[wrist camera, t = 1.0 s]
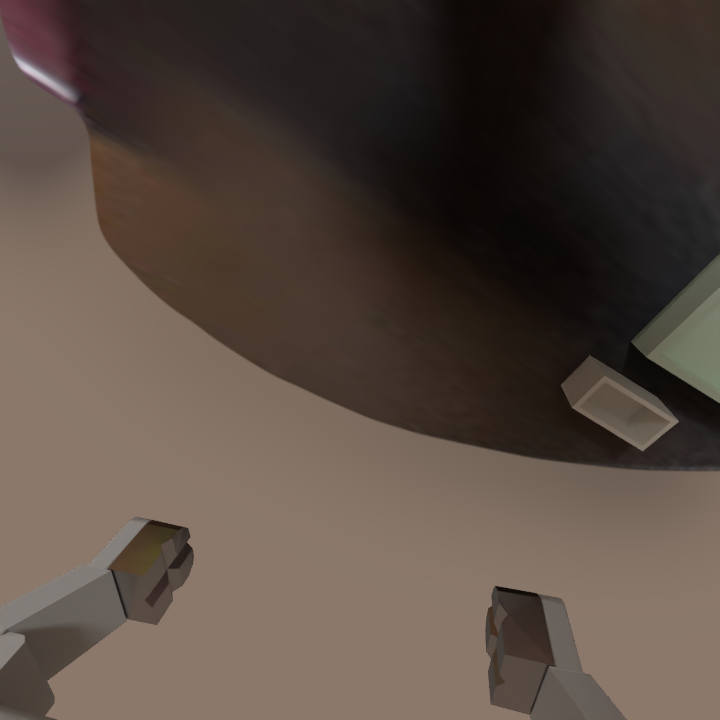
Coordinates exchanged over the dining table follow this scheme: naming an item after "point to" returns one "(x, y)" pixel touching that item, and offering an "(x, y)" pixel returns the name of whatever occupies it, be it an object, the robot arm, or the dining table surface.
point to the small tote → (617, 403)
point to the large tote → (689, 333)
